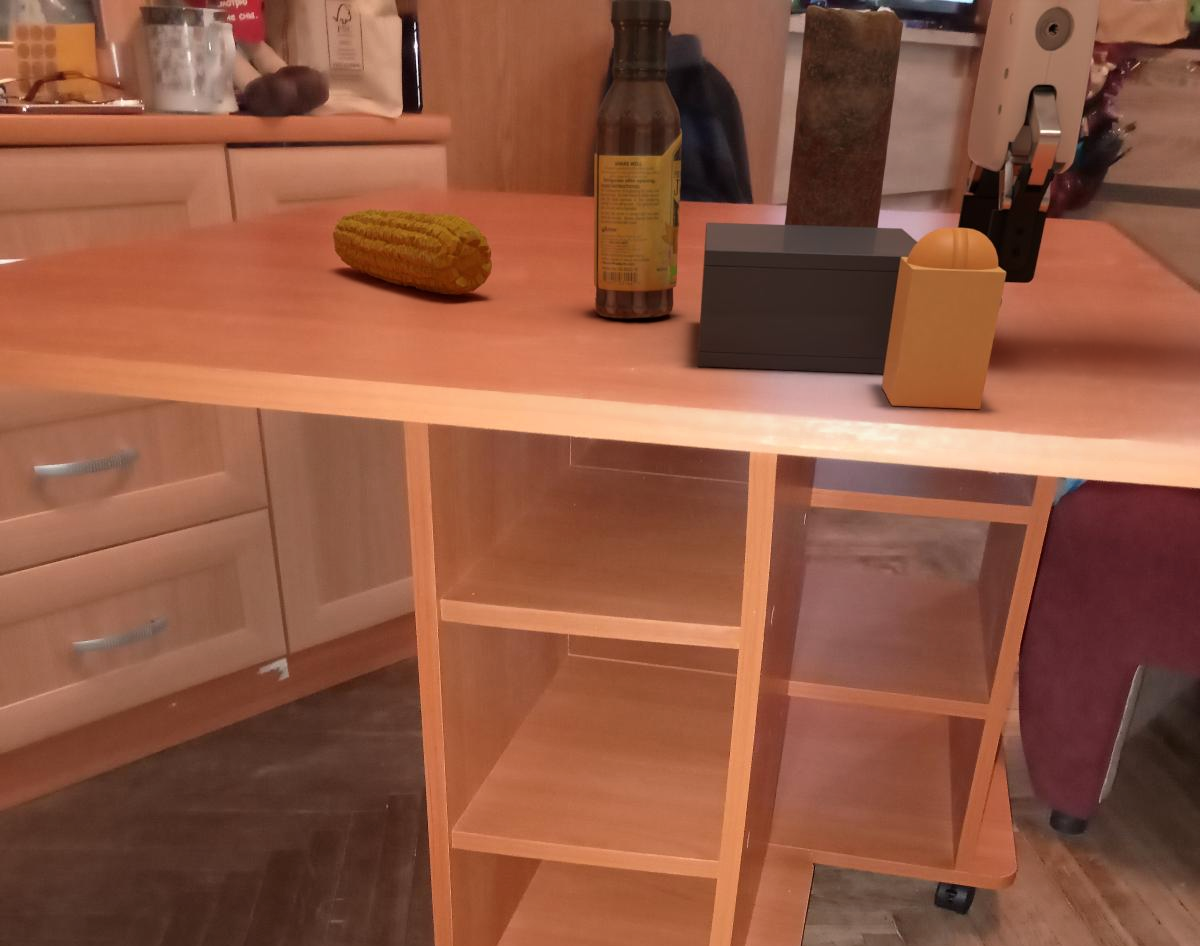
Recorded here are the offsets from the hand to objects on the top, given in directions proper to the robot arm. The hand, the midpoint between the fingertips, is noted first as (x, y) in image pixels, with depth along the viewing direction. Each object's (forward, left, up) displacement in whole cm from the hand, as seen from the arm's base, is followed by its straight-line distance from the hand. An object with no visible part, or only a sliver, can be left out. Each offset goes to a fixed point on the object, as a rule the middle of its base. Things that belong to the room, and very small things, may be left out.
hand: (990, 269), depth 77 cm
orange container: (+5, +15, -5) cm, 16 cm away
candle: (+9, -16, -5) cm, 20 cm away
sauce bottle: (+24, -8, -5) cm, 26 cm away
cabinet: (+12, +2, -5) cm, 13 cm away
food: (+44, -18, -5) cm, 48 cm away
